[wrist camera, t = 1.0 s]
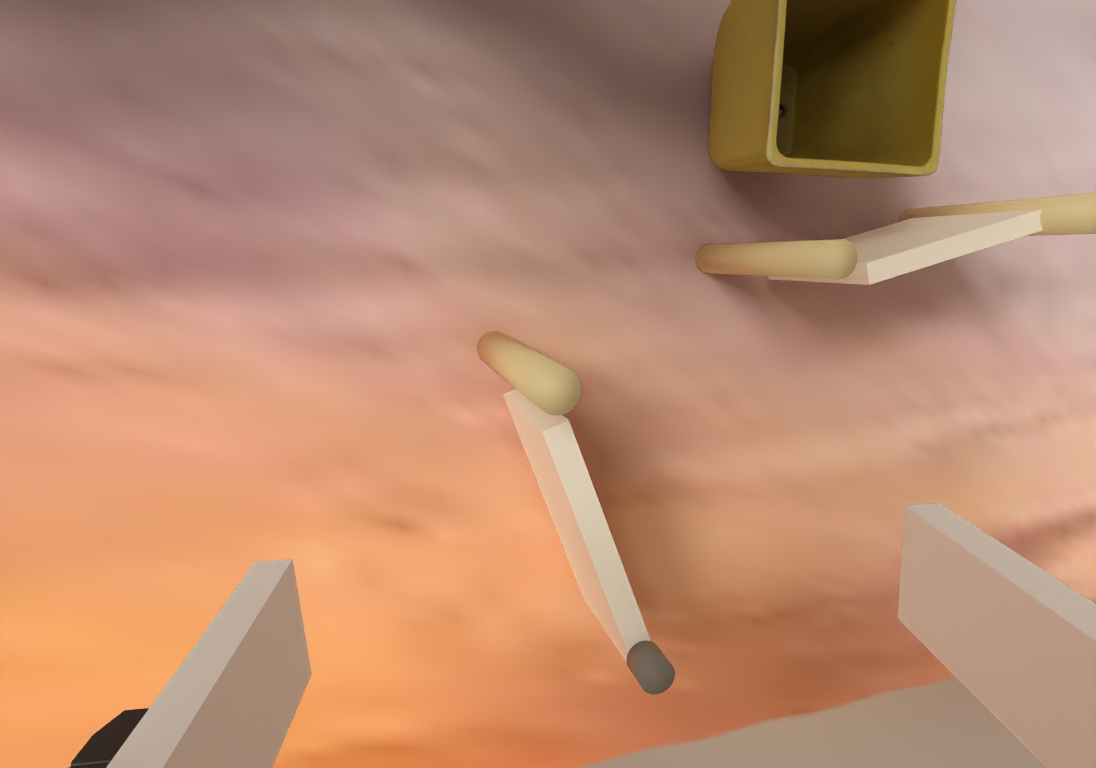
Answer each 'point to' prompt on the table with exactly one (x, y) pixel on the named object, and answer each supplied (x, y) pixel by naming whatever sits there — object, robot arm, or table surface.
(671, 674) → the gate
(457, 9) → the table surface
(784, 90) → the flower pot
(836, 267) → the fence
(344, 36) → the table surface
